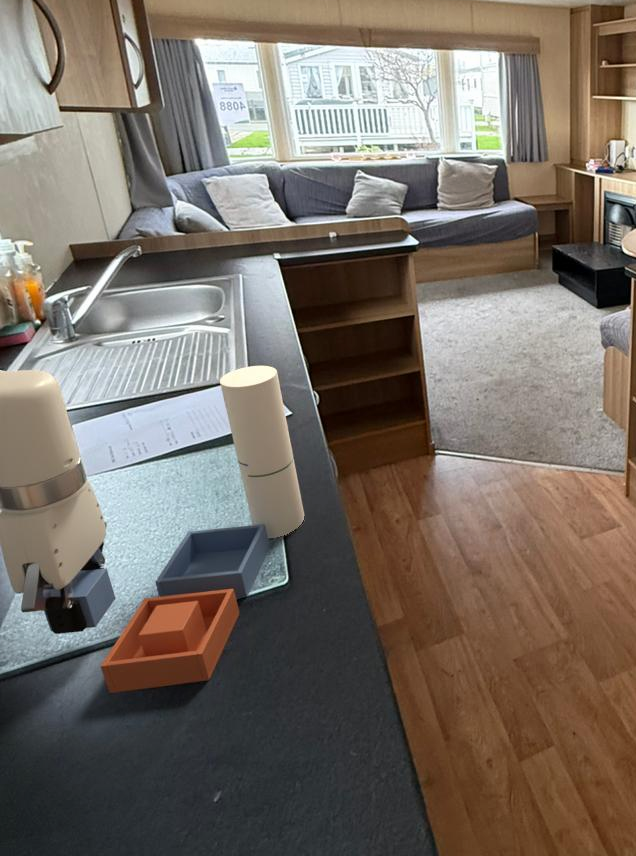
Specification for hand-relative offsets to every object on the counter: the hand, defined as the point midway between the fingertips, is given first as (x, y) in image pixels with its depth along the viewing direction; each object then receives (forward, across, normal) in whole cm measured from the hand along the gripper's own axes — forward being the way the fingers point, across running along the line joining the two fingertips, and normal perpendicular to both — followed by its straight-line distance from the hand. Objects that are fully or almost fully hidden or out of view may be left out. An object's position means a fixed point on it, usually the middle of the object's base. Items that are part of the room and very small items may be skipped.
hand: (83, 611), depth 77 cm
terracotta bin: (+4, +3, +11) cm, 12 cm away
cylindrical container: (+4, -20, +16) cm, 26 cm away
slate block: (0, 0, 0) cm, 0 cm away
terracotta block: (+4, +3, +11) cm, 12 cm away
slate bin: (+4, -10, +11) cm, 15 cm away
